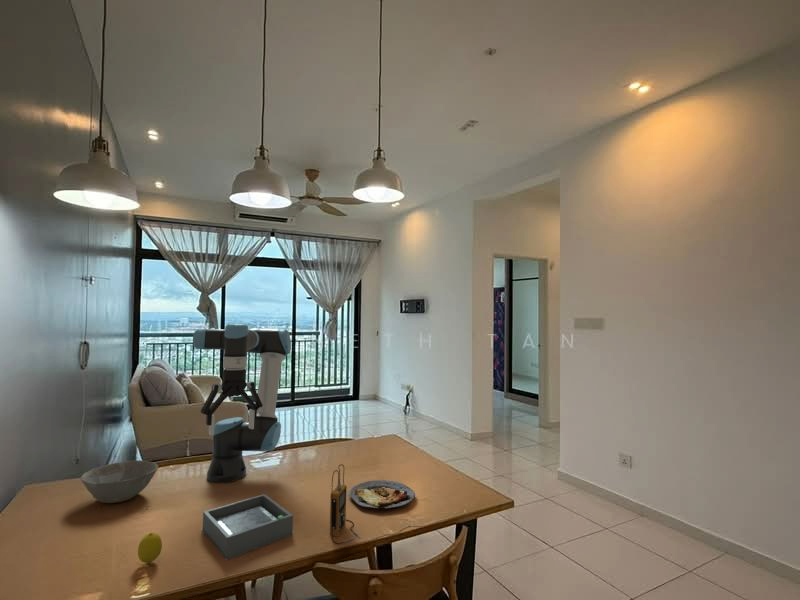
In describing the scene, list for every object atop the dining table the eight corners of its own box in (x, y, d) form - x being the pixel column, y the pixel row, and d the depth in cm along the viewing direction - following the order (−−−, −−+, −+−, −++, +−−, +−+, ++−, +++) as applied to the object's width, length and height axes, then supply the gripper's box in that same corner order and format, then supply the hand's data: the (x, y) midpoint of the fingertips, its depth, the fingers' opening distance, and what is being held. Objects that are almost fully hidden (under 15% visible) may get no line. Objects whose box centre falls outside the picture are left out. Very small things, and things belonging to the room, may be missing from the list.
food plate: (426, 504, 148) (426, 494, 148) (368, 520, 136) (368, 509, 137) (392, 482, 170) (392, 473, 170) (340, 493, 158) (340, 484, 158)
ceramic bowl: (164, 498, 149) (166, 470, 149) (86, 520, 132) (88, 489, 132) (146, 481, 164) (147, 455, 164) (73, 498, 147) (75, 470, 147)
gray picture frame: (213, 523, 127) (214, 519, 127) (260, 508, 137) (260, 505, 137) (232, 543, 116) (232, 539, 116) (281, 526, 126) (281, 522, 126)
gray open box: (202, 531, 127) (203, 509, 127) (264, 511, 140) (264, 492, 141) (226, 560, 112) (227, 536, 112) (292, 535, 125) (293, 513, 126)
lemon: (144, 557, 112) (145, 528, 113) (165, 557, 113) (166, 527, 113) (132, 570, 107) (134, 538, 107) (154, 569, 107) (156, 538, 108)
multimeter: (356, 547, 120) (358, 478, 121) (324, 543, 122) (326, 474, 123) (370, 523, 134) (371, 461, 135) (341, 519, 136) (343, 458, 137)
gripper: (200, 372, 129) (196, 440, 128) (273, 367, 147) (271, 427, 145) (192, 369, 135) (188, 435, 133) (264, 366, 152) (261, 424, 151)
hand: (231, 431), depth 139 cm, fingers open, 13 cm apart
